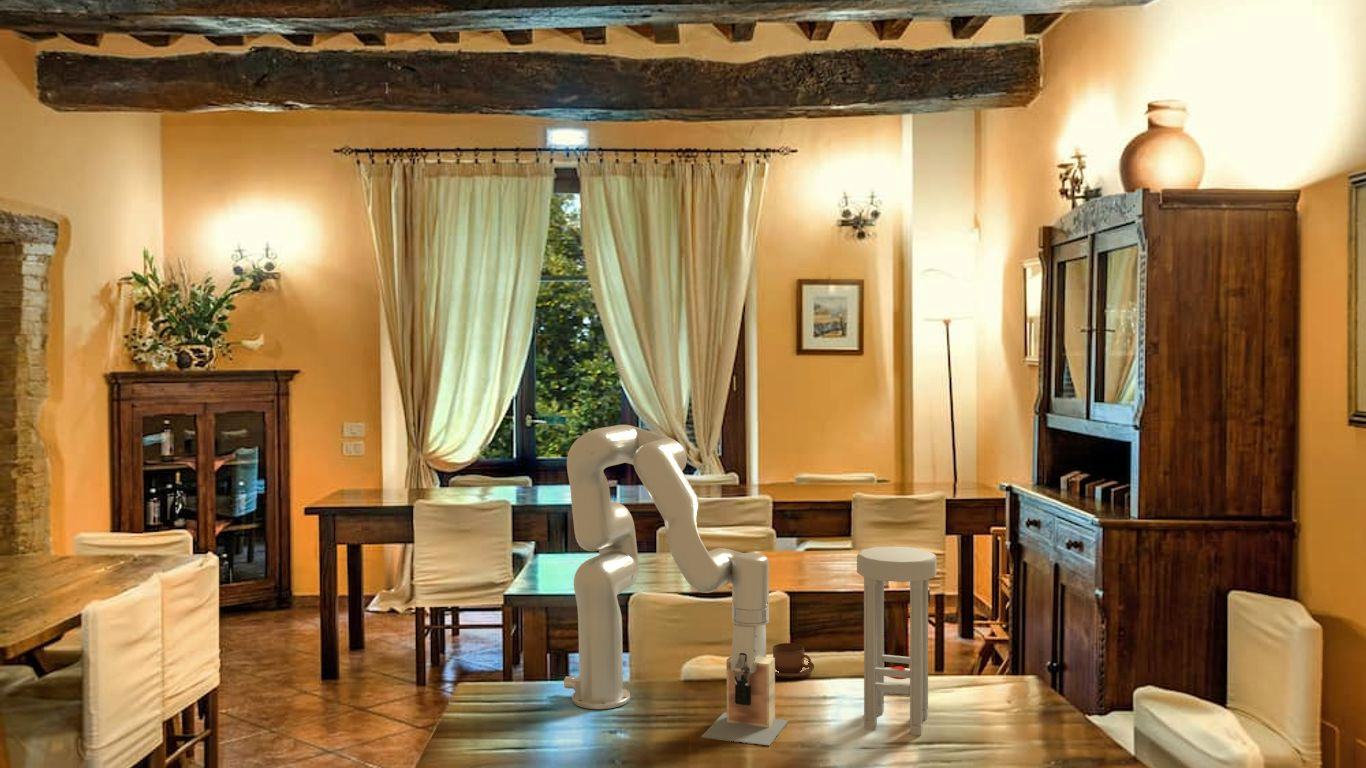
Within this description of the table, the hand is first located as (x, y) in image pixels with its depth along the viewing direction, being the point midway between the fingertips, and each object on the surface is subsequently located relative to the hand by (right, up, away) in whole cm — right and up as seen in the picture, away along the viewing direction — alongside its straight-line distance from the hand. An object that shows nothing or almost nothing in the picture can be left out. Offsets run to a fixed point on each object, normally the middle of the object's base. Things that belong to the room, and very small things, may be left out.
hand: (750, 696), depth 221 cm
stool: (+30, -5, 0) cm, 30 cm away
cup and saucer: (+11, -4, +32) cm, 34 cm away
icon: (+34, -5, +22) cm, 41 cm away
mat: (-1, -6, -4) cm, 7 cm away
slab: (0, -5, 0) cm, 5 cm away
